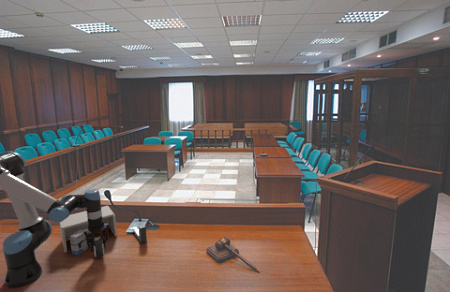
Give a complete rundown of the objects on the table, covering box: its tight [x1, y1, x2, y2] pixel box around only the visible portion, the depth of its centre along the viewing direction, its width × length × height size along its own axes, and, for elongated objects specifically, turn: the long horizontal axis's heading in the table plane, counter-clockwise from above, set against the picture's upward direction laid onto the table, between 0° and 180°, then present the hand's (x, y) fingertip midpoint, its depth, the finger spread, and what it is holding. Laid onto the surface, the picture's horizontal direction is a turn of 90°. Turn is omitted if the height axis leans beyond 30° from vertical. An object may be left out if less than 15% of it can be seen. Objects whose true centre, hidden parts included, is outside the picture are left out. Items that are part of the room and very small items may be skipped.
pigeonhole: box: [59, 205, 118, 253], centre depth 168 cm, size 17×30×16 cm, turn 127°
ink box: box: [69, 229, 90, 256], centre depth 155 cm, size 8×5×12 cm, turn 163°
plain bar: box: [131, 224, 148, 245], centre depth 170 cm, size 20×4×11 cm, turn 37°
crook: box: [88, 235, 104, 259], centre depth 153 cm, size 22×12×11 cm, turn 36°
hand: (99, 254), depth 150 cm, fingers closed on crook, 4 cm apart
